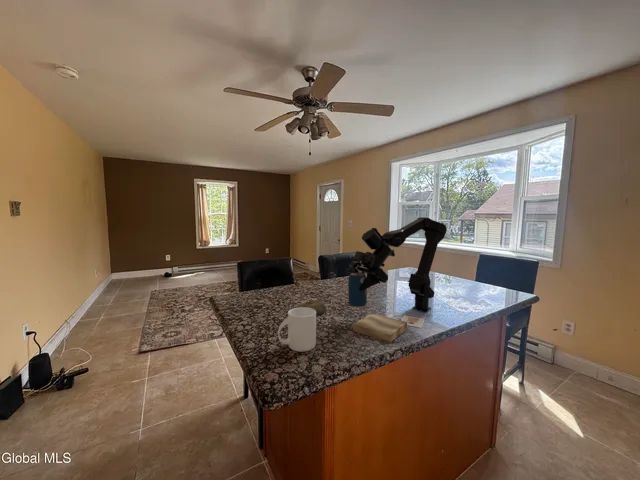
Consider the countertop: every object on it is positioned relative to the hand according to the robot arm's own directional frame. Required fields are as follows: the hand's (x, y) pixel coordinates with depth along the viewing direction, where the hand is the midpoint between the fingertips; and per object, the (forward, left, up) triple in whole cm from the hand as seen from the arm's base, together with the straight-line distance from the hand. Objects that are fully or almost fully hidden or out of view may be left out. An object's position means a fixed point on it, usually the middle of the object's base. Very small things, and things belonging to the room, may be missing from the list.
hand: (354, 288), depth 98 cm
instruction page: (-15, +17, -13) cm, 26 cm away
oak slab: (0, +11, -13) cm, 17 cm away
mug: (+28, -3, -13) cm, 31 cm away
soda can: (-1, +1, -7) cm, 7 cm away
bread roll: (+1, -20, -14) cm, 25 cm away
